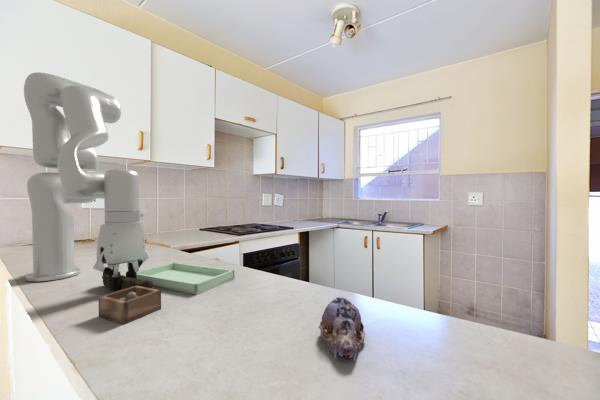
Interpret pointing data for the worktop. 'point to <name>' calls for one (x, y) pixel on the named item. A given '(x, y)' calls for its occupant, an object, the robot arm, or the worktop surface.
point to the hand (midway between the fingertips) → (123, 288)
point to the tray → (186, 277)
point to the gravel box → (129, 304)
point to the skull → (342, 327)
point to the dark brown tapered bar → (128, 282)
